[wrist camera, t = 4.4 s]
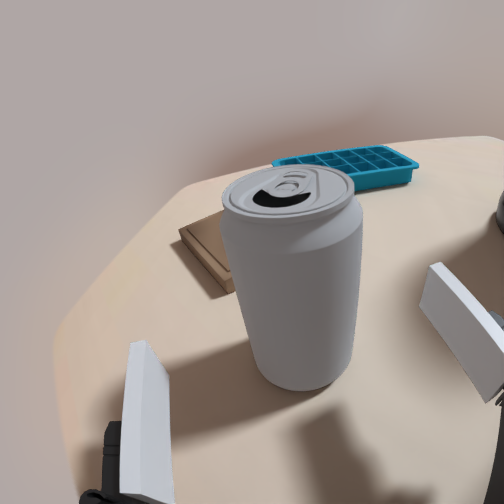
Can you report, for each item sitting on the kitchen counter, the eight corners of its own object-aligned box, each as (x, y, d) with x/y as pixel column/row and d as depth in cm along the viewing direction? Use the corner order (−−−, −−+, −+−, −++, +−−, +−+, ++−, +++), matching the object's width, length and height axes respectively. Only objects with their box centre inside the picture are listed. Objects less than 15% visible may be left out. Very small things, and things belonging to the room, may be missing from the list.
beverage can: (239, 379, 18) (181, 214, 12) (279, 312, 23) (253, 158, 16) (334, 408, 15) (347, 230, 9) (360, 329, 20) (371, 162, 13)
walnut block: (267, 203, 39) (265, 191, 38) (332, 238, 30) (332, 224, 29) (181, 240, 34) (177, 228, 34) (228, 294, 25) (224, 279, 25)
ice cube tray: (421, 185, 38) (422, 165, 36) (290, 208, 37) (288, 186, 36) (383, 160, 47) (383, 144, 46) (272, 178, 47) (270, 160, 45)
